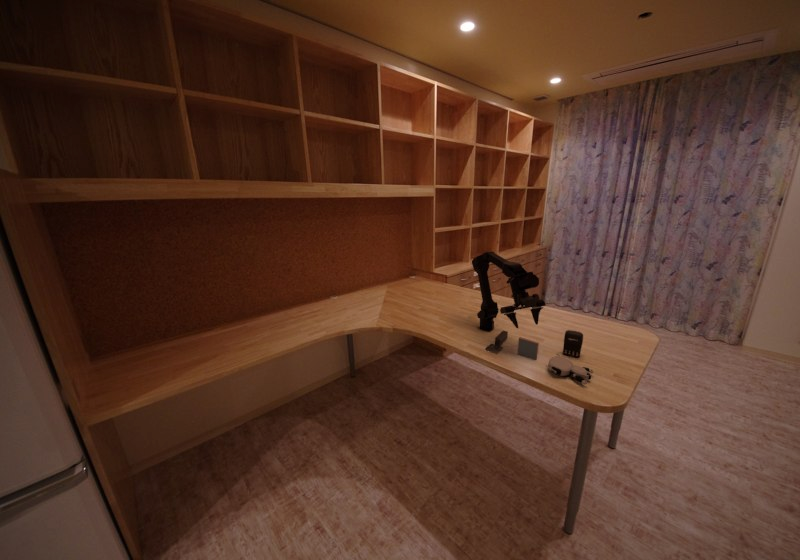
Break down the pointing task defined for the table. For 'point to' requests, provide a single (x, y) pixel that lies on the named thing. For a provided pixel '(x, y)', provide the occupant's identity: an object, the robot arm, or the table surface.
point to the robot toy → (569, 369)
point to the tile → (528, 348)
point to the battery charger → (572, 343)
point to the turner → (498, 343)
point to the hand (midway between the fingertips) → (527, 326)
